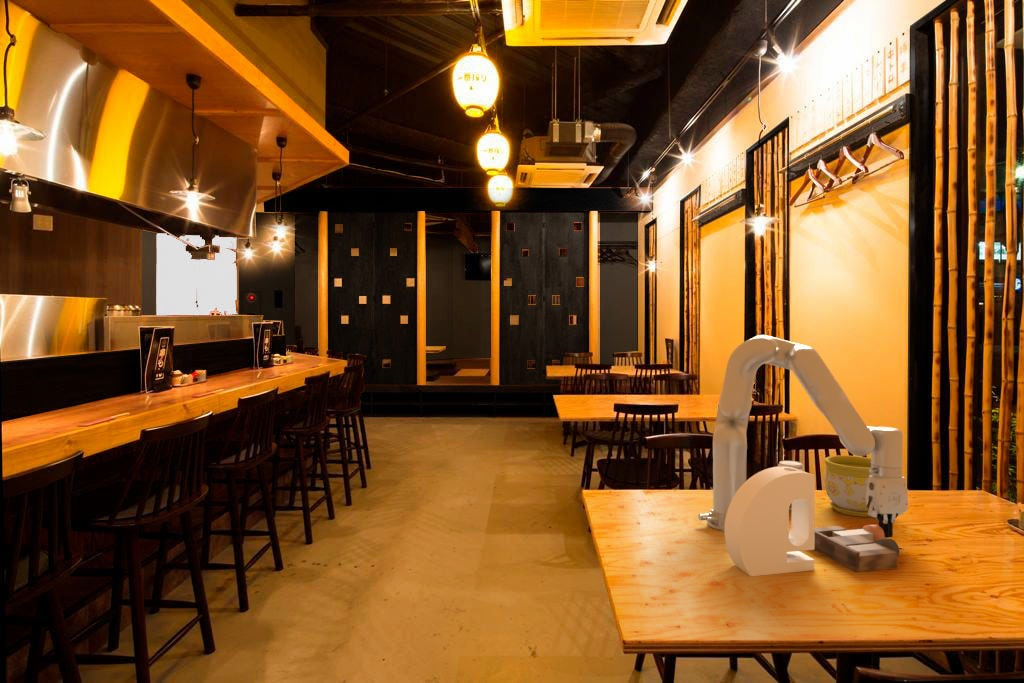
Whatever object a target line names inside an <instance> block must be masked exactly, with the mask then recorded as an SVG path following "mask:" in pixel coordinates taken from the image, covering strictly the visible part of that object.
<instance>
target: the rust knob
mask: <svg viewBox="0 0 1024 683" xmlns="http://www.w3.org/2000/svg"><path fill="white" fill-rule="evenodd" d="M848 535H860V536H862V537H864V538H867V539H869V540H871V541H873V542H874V543H875V542H876V541H877V540H880V539H886V537H885V535H884V531H883V529H882V528H881V527H880V526H879V524H866V525H863V526H862V528H857V529H848V530H847V529H846V530H845V531H833V532H832V537H837V536H848Z"/></svg>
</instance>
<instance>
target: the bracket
mask: <svg viewBox="0 0 1024 683" xmlns="http://www.w3.org/2000/svg"><path fill="white" fill-rule="evenodd" d="M815 480H816V476H815V474H814V473H813V474H812V473H809V472H806V471H805V470H804V471H802V470H799V469H796V468H792V467H784V466H781V467H777V466H773V467H768V468H765V469H763V470H760V471H758V472H756V473H755V474H753V475H752V476H750V477H749V478H748V479H746V482H745V483H744V484H743V485H742V486H741V487H740V488H739V489H738V491H737V492H736V493H735V495H734V497H733V498H732V500H731V503H730V505H729V507H728V510H727V514H726V519H725V528H724V531H723V533H724V541H725V546H726V550H727V551H728V554H729V557H730V559H731V560H732V563H733V564H734V565H735V566H736V567H737V568H739V570H741V571H743V572H744V573H746V574H747V575H749V576H750V577H758V576H766V575H767V576H768V575H777V574H785V573H786V574H788V573H796V572H806V571H807V572H809V571H815V559H814V558H812V557H810V556H809V555H807V554H806V553H804V552H802V551H805V552H806V551H813V550H814V548H815V528H816V526H815V516H816V515H815V514H816V513H815V512H816V508H815V504H816V503H815V502H816V498H815V497H816V495H815V494H816V492H815V491H816V489H815V488H816V486H815V485H816V483H815V482H816V481H815ZM791 503H792V510H791V526H790V522H789V520H790V514H789V512H790V510H789V506H790V504H791ZM789 526H790V527H789ZM789 528H790V530H789ZM814 551H815V550H814Z"/></svg>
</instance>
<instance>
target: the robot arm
mask: <svg viewBox="0 0 1024 683" xmlns="http://www.w3.org/2000/svg"><path fill="white" fill-rule="evenodd" d="M764 364H765V365H766V364H768V365H771V366H773V367H774V366H775V367H777V368H782V369H786V370H790V371H792V373H793V374H794V376H795V377H796V379H797V380H798V382H799V383H800V384H801V386H802V387H803V389H804V390H805V392H806V394H807V395H808V397H809V398H810V401H812V403H813V405H814V406H815V407H816V408H817V409H818V411H819V412H820V413H821V414H822V415H823V416H824V418H826V420H827V421H828V423H829V424H830V426H831V427H832V428H833V430H834V432H835V433H836V435H837V436H838V437H839V441H840V443H841V444H842V445H843V447H844V448H845V449H846V450H847V451H848V452H849V453H850V454H852V455H853V456H859V457H865V456H868V455H870V458H871V468H870V469H869V472H870V473H871V475H869V479H868V484H867V492H866V507H867V509H869V510H868V515H869V516H870V517H872V518H875V519H876V521H878V525H879V526H880V527H881V528H882V529H883V531H884V535H885V539H890V538H893V537H894V532H893V531H894V530H893V529H894V526H893V525H894V524H895V523H896V519H897V517H898V516H901V515H903V514H904V513H906V512H908V508H909V499H908V498H909V497H908V495H909V494H908V487H907V482H906V478H905V476H903V461H904V460H903V458H904V456H903V454H904V453H903V452H904V451H903V448H904V434H903V432H902V430H901V429H900V428H897V427H892V426H871V425H867V424H866V423H865V421H864V420H863V418H862V416H860V414H859V412H858V411H857V409H856V408H855V407H854V405H853V404H852V402H851V400H850V399H849V397H848V395H847V394H846V393H845V391H844V390H843V388H842V387H841V385H840V383H839V382H838V380H837V379H836V378H835V376H834V374H833V373H832V372H831V371H830V369H829V368H828V366H827V364H826V363H825V362H824V360H823V359H822V357H821V355H820V354H819V352H818V351H816V349H815V348H814V347H811V346H809V345H806V344H801V343H797V342H792V341H789V340H785V339H781V338H778V337H774V336H770V335H767V334H758V335H755V336H753V337H752V338H749V339H747V340H745V341H743V342H741V343H740V344H739V345H738V346H737V347H735V349H734V350H733V351H732V353H731V354H730V356H729V358H728V361H727V363H726V367H725V368H726V369H725V374H724V379H723V384H722V391H721V393H720V395H719V398H718V399H719V400H718V406H717V412H716V419H715V425H714V432H713V436H712V460H713V461H712V475H713V476H712V481H713V483H712V484H713V485H712V492H713V493H712V495H713V496H712V499H713V500H712V506H713V507H712V509H711V508H710V509H709V511H708V512H707V513H699V514H698V515H697V516H698V517H697V518H698V520H699V521H706V522H707V524H708V526H709V527H711V528H713V529H715V530H716V531H717V530H719V531H722V532H724V528H725V519H726V514H727V510H728V507H729V505H730V503H731V500H732V498H733V497H734V495H735V493H736V492H737V491H738V489H739V488H740V487H741V486H742V485H743V484H744V483H745V482H746V481H747V450H748V441H747V440H748V439H747V438H748V437H747V430H748V424H749V418H750V412H751V409H752V405H753V403H752V400H753V398H752V396H753V392H754V386H755V385H754V383H755V379H756V373H757V371H758V369H759V368H760V367H761V366H762V365H764Z"/></svg>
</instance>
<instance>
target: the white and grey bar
mask: <svg viewBox="0 0 1024 683" xmlns="http://www.w3.org/2000/svg"><path fill="white" fill-rule="evenodd" d="M848 547H850V548H852V549H854V550H856V551H865V550H876V549H886V548H889V549H891V550H893V551H895V552H897V558H898V557H899V556H900V547H899V545H898V543H897V542H896V541H895V539H892V538H884V539H880V540H877V541H876V542H875V543H874V544H863V545H853V546H848Z"/></svg>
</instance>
